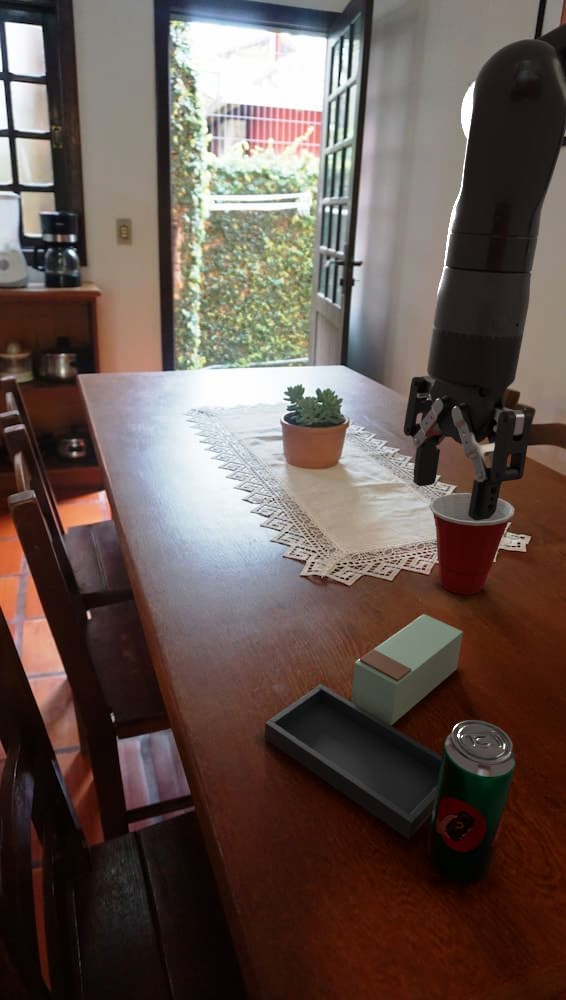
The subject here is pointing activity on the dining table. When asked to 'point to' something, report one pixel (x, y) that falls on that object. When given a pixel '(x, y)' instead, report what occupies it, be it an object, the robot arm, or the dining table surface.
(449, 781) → the soda can
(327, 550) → the dining table surface
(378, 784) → the tray
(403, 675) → the pencil box
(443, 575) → the plastic cup
